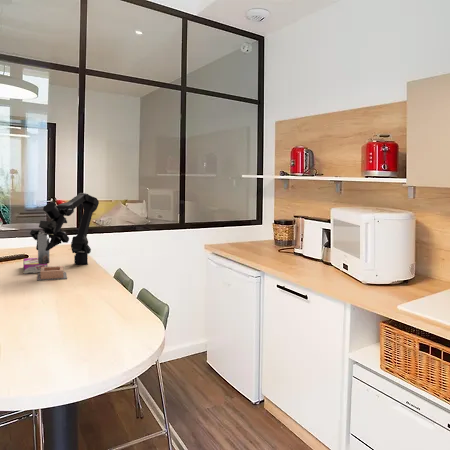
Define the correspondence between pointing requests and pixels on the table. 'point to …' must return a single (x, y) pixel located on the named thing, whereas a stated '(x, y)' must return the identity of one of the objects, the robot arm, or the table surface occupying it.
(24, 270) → the candy bar box
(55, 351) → the table surface
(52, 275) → the terracotta socket
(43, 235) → the metal pin
